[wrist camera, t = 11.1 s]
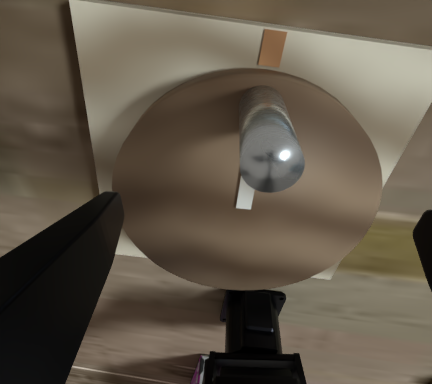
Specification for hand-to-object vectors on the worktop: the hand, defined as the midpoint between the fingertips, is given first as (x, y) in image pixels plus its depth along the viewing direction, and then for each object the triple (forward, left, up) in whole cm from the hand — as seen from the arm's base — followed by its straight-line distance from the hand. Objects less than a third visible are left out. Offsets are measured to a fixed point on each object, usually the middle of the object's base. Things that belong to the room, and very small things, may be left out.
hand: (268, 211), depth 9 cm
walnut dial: (-8, -1, -11) cm, 13 cm away
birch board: (-7, 0, -13) cm, 14 cm away
